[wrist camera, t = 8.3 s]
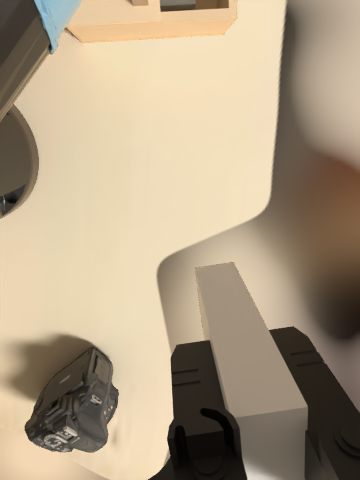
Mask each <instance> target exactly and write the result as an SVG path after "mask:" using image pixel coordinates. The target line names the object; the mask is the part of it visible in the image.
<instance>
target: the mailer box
mask: <svg viewBox="0 0 360 480" xmlns="http://www.w3.org/2000/svg"><path fill="white" fill-rule="evenodd" d="M160 11H161V22H148V23H130V24H113V25H95V26H77V27H66V28H67V29H68V30H70V31H71V32H72V33H73V34H74V35H75V36H76V37H77V38H78V39H79V40H80V41H81V42H82V43H90V42H107V41H124V40H141V39H158V38H175V37H193V36H210V35H224V34H225V32H226V31H227V30H228V29H229V27H230V26H231V25H232V24H233V22H234V21H235V20H236V19H237V0H160Z"/></svg>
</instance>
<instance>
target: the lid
mask: <svg viewBox="0 0 360 480" xmlns="http://www.w3.org/2000/svg"><path fill="white" fill-rule="evenodd" d="M148 22H161V11H160V0H82V1H81V3H80V5H79V7H78V8H77V10H76V11H75V13H74V15H73V16H72V18H71V19H70V21H69V23H68V24H67V26H66V27H77V26H95V25H113V24H130V23H148Z"/></svg>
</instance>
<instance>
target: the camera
mask: <svg viewBox="0 0 360 480" xmlns="http://www.w3.org/2000/svg"><path fill="white" fill-rule="evenodd" d="M112 375H113V366H112V363H111V361H110V360H109V359H108V358H106V357H105V356H104V355H103V354H102V353H100V352H99V351H97V350H96V349H95V348H91V349H90V350H88V351H87V352H86V353H84V354H83V355H82V356H80V357H79V358H78V359H77V360H75V361H74V362H73V363H71V364H70V365H69V366H67V367H66V368H65V369H63V370H62V371H61V372H59V373H58V374H57V375H56V376H54V377H53V378H52V379H51V380H50V382H49V384H48V385H47V386H46V387H45V389H44V390H43V391H42V392H41V394H40V396H39V398H38V400H37V403H36V404H35V406H34V411H33V413H32V416H31V418H30V419H29V420H28V421H27V422H26V424H25V431H26V434H27V436H28V439H29V440H30V441H31V442H33V443H34V444H35V445H37V446H39V447H40V446H41V447H42V448H45V449H48V450H51V451H52V452H53V451H58V452H71V451H72V450H73V448H75V449H78V450H81V451H85V452H90V453H91V452H95V451H98V450H99V449H101V448H102V447H103V446H104V445H105V444H106V443H107V439H108V430H107V424H108V423H109V421H110V420H111V418H112V417H113V415H114V412H115V410H116V408H117V404H118V395H119V393H118V390H117V389H116V388H115V387H114V386H113V384H112V382H111V380H112Z"/></svg>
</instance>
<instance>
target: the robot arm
mask: <svg viewBox="0 0 360 480" xmlns="http://www.w3.org/2000/svg"><path fill="white" fill-rule="evenodd" d="M81 1H82V0H0V219H1V218H3V217H5V216H6V215H8V214H9V213H11V212H13V211H14V210H16V209H17V208H18V207H19V206H21V205H22V204H23V203H24V202H25V201H26V199H27V198H28V197H29V195H30V194H31V192H32V190H33V188H34V186H35V183H36V180H37V175H38V168H39V158H38V150H37V146H36V142H35V139H34V136H33V133H32V131H31V129H30V127H29V125H28V123H27V121H26V120H25V118H24V117H23V115H22V114H21V113H20V111H19V110H18V109H17V108H16V107H15V105H14V102H15V101H16V99H17V98H18V96H19V95H20V94H21V92H22V91H23V89H24V88H25V87H26V85H27V84H28V82H29V81H30V79H31V78H32V77H33V75H34V74H35V72H36V71H37V70H38V68H39V67H40V65H41V64H42V62H43V61H44V60H45V58H46V57H47V55H48V54H49V53H50V54H53V53H54V52H55V51H56V49H57V47H58V38H59V37H60V35H61V34H62V32H63V30H64V29H65V27H66V26H67V24H68V23H69V21H70V19H71V18H72V16H73V15H74V13H75V11H76V10H77V8H78V7H79V5H80V3H81ZM195 274H196V281H197V290H198V298H199V306H200V314H201V322H202V328H203V333H204V338H205V341H200V342H193V343H186V344H179V345H177V346H176V348H175V350H174V352H173V354H172V356H171V374H172V395H173V414H174V419H173V421H172V423H171V424H170V426H169V431H168V437H167V441H168V446H169V451H170V455H171V456H170V458H169V460H168V461H167V463H166V465H165V466H164V467H163V468H162V469H161V470H160V471H159V472H158V473H157V474H156V475H154V476H153V477H151V478H150V479H148V480H360V413H359V411H358V410H357V409H356V407H355V406H354V404H353V403H352V401H351V400H350V399H349V397H348V395H347V394H346V393H345V391H344V390H343V388H342V387H341V385H340V384H339V382H338V381H337V379H336V378H335V376H334V375H333V373H332V372H331V371H330V369H329V368H328V366H327V364H325V363H324V360H323V359H322V357H321V356H320V354H319V353H318V352H317V350H316V348H315V347H314V345H313V344H312V342H311V341H310V339H309V338H308V337H307V336H306V335H305V334H303V333H302V332H300V331H299V330H298V329H296V328H294V327H286V328H279V329H273V330H268V328H267V326H266V324H265V323H264V320H263V318H262V317H261V315H260V313H259V311H258V309H257V307H256V305H255V303H254V301H253V299H252V297H251V295H250V293H249V291H248V289H247V287H246V285H245V284H244V282H243V280H242V278H241V276H240V274H239V272H238V270H237V268H236V267H235V264H234V262H230V263H224V264H216V265H210V266H203V267H196V268H195Z"/></svg>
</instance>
